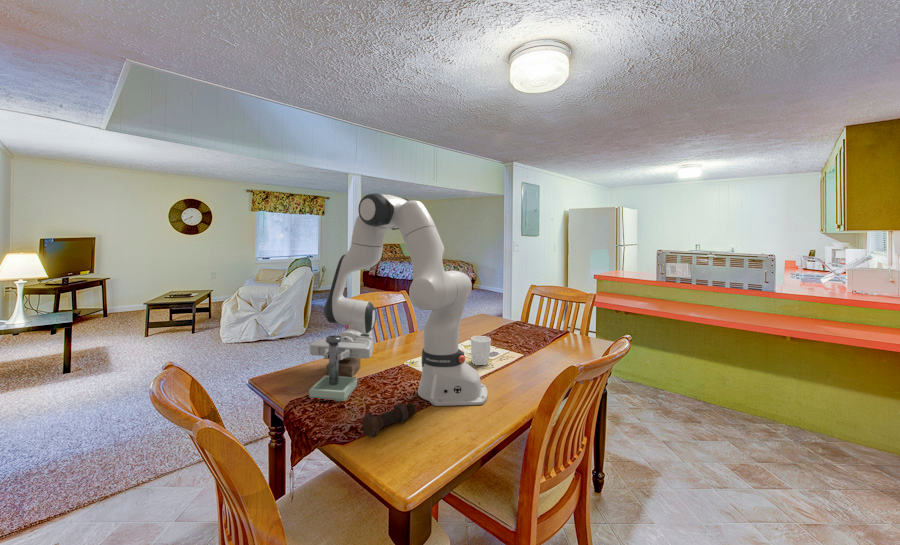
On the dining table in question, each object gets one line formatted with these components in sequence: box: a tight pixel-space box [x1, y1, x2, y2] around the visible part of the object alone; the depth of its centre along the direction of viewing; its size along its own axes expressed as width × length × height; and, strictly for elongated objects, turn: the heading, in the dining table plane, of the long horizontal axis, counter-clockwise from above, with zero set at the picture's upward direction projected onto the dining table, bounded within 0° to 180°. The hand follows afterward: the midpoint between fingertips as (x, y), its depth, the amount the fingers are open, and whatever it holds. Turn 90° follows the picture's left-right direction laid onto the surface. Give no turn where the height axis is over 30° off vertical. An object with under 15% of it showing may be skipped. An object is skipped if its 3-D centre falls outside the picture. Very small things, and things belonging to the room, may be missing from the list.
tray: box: [308, 374, 358, 402], centre depth 112 cm, size 11×11×3 cm
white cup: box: [470, 335, 492, 366], centre depth 141 cm, size 8×8×10 cm
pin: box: [325, 335, 341, 386], centre depth 111 cm, size 4×4×15 cm
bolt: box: [361, 402, 417, 439], centre depth 95 cm, size 6×5×15 cm
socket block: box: [326, 357, 361, 377], centre depth 128 cm, size 9×9×4 cm
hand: (332, 357), depth 110 cm, fingers closed on pin, 3 cm apart
